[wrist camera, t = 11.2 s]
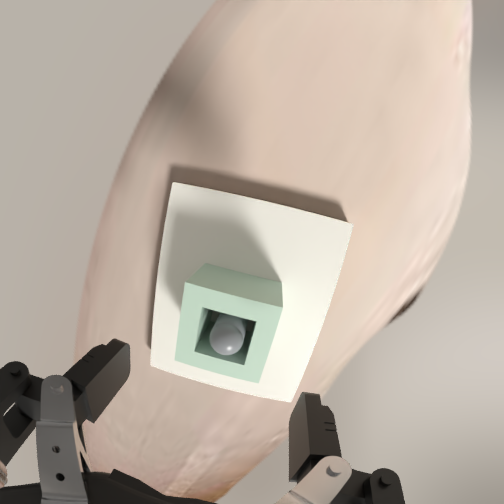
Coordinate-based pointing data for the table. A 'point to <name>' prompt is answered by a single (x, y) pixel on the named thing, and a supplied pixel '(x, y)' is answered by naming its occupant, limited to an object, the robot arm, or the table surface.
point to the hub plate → (254, 263)
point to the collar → (233, 303)
